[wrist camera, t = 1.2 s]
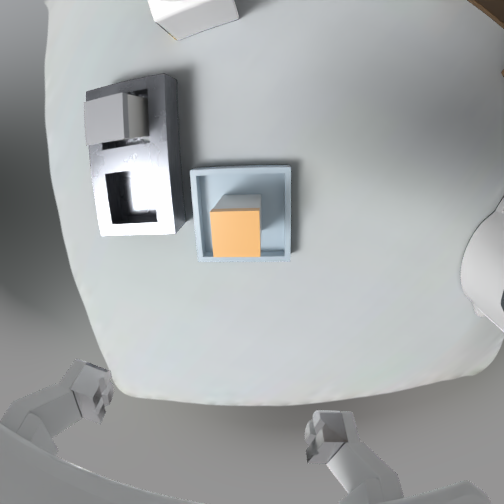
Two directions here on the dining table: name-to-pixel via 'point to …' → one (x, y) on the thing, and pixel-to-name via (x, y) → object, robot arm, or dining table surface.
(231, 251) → the plug
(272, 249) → the tray
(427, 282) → the dining table surface
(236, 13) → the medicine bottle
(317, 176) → the dining table surface
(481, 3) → the photo frame
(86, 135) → the grey rectangular block
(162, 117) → the square-holed metal block
